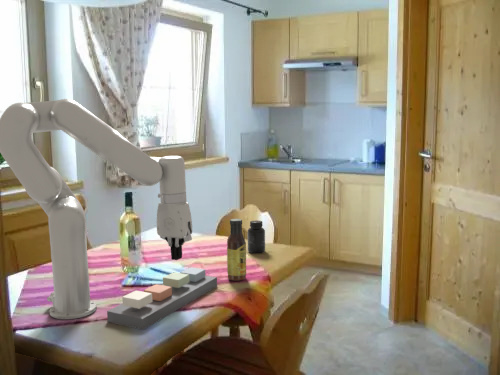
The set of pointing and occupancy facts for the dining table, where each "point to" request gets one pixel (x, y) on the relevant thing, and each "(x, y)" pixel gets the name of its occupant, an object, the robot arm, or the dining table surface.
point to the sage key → (176, 280)
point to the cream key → (137, 299)
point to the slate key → (194, 274)
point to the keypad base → (161, 305)
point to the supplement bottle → (256, 237)
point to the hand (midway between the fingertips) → (176, 258)
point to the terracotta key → (159, 292)
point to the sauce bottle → (236, 252)
